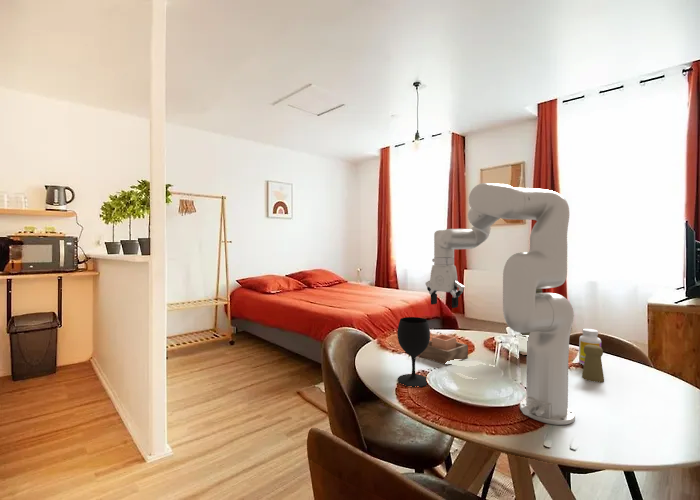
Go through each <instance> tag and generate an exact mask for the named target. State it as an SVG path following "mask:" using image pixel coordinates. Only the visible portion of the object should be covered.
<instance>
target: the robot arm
mask: <svg viewBox="0 0 700 500" xmlns="http://www.w3.org/2000/svg"><path fill="white" fill-rule="evenodd" d="M468 204H469V206H470V209H469V211H468V213H467V218H468V220H469V223H470V224H471V226H472V227H471V228H447V229H441V230H436V231H434V234H433V238H434V239H433V241H434V242H433V243H434V245H433V250H434V252H433V258H432V262H433V263H434V264H432V265H431V270H430V279H429V280H427V281H426V282H425V286H426V289H427V291H428V293H429V295H430V305H437V304H438V294H437V292H443V293H450V294H451V295H452V297H451V308H452V309H456V308H458V307H459V297H460V296H461V295H462V294H463V292H464V290H465V286H464V285H463V284H462V283H460V282H459V281H458V272H457V267H456V265H455V250H472V249H475V248H477V247H479V246H480V245H481V244H483V243H484V242H486V240H487V239H488V238H489V236H490V233H491V229H492V228H491V227H492V225H494V224H495V223H496V222H498V221H499V220H500V219H503V220H520V221H521V220H524V221H525V220H528V221H529V220H531V221H532V220H533V221H536V222H535V223H534V225H533V227H532V229H531V231H530V234H529V251H522V252H520V251H519V252H515V253H514V254H512V255H511V256H510V257H509V258H508V259H507V260H506V262H505V264H504V267H503V271H502V272H503V273H502V312H503V319H504V321H505V323H506V324H507V326H508V327H509V329H510V330H512V331H513V332H516V333H519V334H520V333H529V332H530V334H529V337H528V341H527V356H526V390H525V391H526V398H525V399H526V400H524V399H523V400H524V401H523V402H521V401H520V402H521V403H519V409H520V411H521V412H522V414H523V415H525V416H527V417H528V418H531V419H533V420H536V421H538V422H541V423H545V424H549V425H554V426H555V425H558V426H562V425H570V424H572V423H574V421H576V420H575V419H576V414H575V412H574V410H572V409H571V408H570V407H569V399H568V398H569V358H570V357H569V354H570V352H569V350H570V336H571V331H572V327H573V323H574V316H575V315H574V308H573V305H572V303H571V302H570V300H568V299H567V298H566V297H565V296H563V295H562V294H559V293H555V292H554V293H553V292H542V293H537V294H536V289H542V290H543V289H552V288H553V289H554V288H557V287H561V286H562V285H564V284H565V282H566V280H567V275H568V231H569V230H568V229H569V224H570V223H569V222H570V206H569V204H568V201H567V200H566V198H565V197H564V196H563V195H562V194H560V193H559V192H556V191H553V190H549V189H544V188H531V187H530V188H529V187H526V188H525V187H513V186H511V185H509V184H506V183H492V182H491V183H490V182H483V183H479V184H477V185H475V186H474V187H473V188H472V189H471V190H470V192H469V195H468Z"/></svg>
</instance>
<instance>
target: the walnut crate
mask: <svg viewBox="0 0 700 500" xmlns="http://www.w3.org/2000/svg"><path fill="white" fill-rule="evenodd" d="M419 357H420V358H424V359H427V360H430V361H432V362H437V363H439V364H442V365H445V363H446V362H447V361H450V360H454V359H464V360H466V359H468V358H469V345H468V344H465V343H461V342H457V341H456V348H454V349H451V350H448V351H446V350H443V349H440V348H436V347H433V346H432V339H430V341H429V344H428V346H427V348H426V349H425V350H424V351H423V352H422V353H421V354H420V355H419Z"/></svg>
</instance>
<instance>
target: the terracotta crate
mask: <svg viewBox="0 0 700 500" xmlns="http://www.w3.org/2000/svg"><path fill="white" fill-rule="evenodd" d="M431 340H432V346H433V347H436V348H440V349H443V350H446V351H448V350H451V349H454V348H456V342H457V337H454V336H452V335H451V336H450V335H447V334H443V333H441V334H438V335H433V336H432V337H431Z"/></svg>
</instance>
